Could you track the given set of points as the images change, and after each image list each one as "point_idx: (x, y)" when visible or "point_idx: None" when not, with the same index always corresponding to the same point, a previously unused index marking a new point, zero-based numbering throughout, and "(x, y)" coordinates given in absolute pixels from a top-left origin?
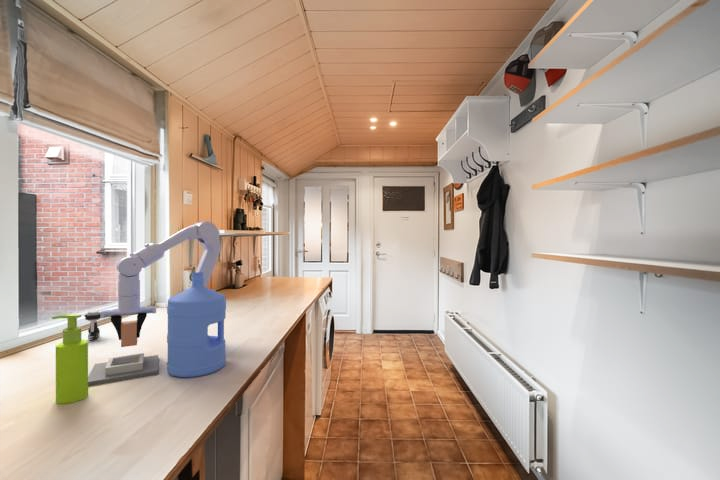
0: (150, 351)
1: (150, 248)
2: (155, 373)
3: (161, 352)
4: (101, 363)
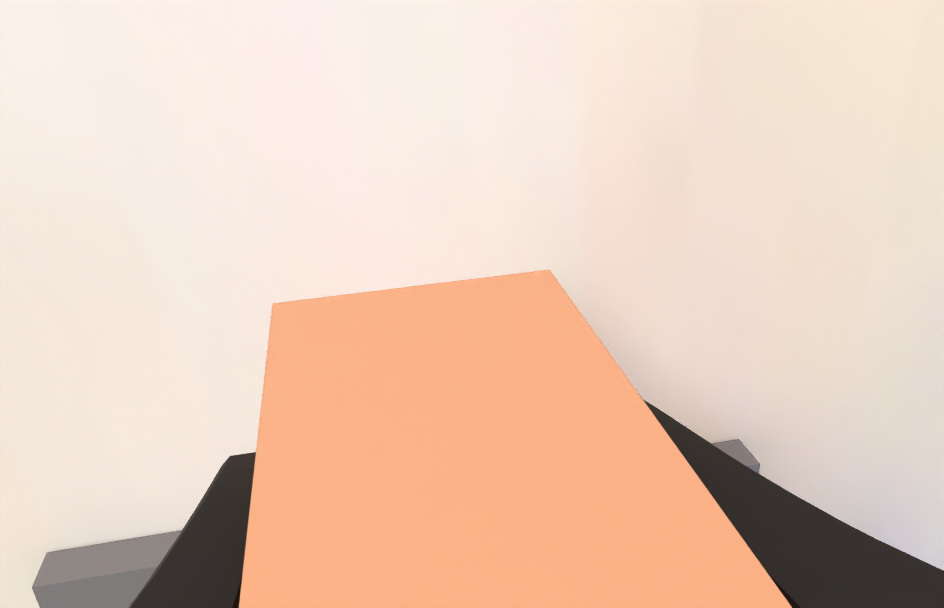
0: (668, 112)
1: None
2: None
3: (798, 227)
4: (119, 585)
